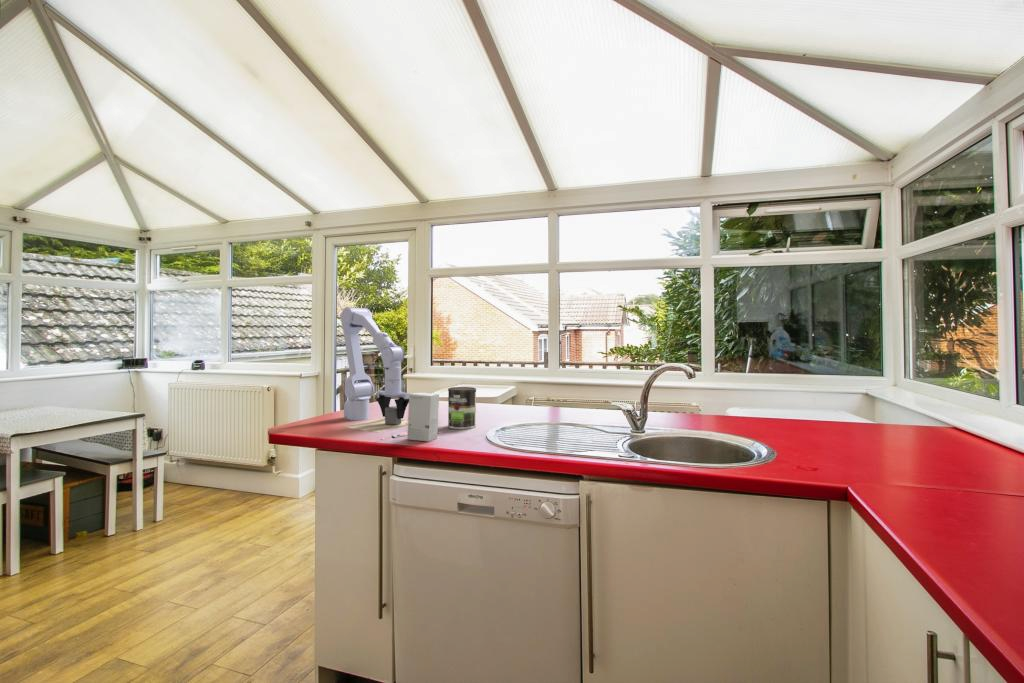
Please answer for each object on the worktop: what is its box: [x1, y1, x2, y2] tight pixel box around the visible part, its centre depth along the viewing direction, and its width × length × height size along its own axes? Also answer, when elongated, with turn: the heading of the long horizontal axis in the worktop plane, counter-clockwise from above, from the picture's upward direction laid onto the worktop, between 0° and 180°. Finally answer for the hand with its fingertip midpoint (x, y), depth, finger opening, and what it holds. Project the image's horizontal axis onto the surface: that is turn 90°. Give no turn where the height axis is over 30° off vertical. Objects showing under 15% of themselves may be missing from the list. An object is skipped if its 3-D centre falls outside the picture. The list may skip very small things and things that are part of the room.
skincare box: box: [407, 392, 440, 442], centre depth 154 cm, size 8×6×15 cm
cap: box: [384, 405, 402, 424], centre depth 171 cm, size 6×6×6 cm
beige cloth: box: [341, 417, 408, 433], centre depth 170 cm, size 18×21×2 cm
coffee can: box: [447, 386, 477, 430], centre depth 174 cm, size 10×10×14 cm
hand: (393, 417), depth 171 cm, fingers open, 7 cm apart
